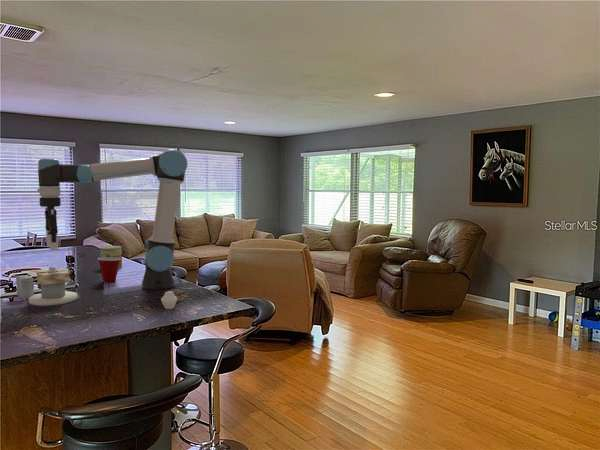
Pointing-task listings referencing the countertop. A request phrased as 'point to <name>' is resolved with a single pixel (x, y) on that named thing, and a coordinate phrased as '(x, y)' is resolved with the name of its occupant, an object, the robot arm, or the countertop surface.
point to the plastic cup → (109, 268)
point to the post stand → (53, 294)
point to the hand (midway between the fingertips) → (52, 248)
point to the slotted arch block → (53, 276)
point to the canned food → (112, 253)
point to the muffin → (169, 300)
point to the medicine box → (24, 286)
